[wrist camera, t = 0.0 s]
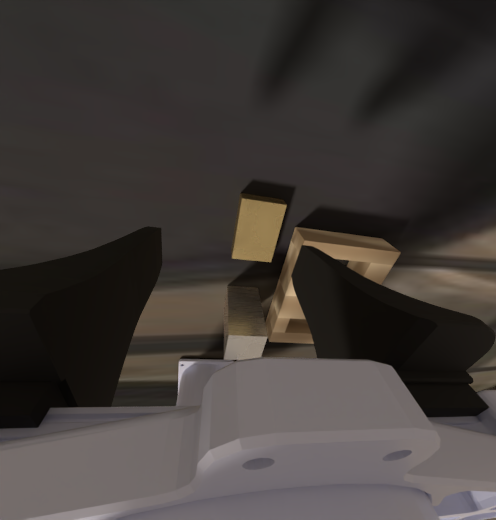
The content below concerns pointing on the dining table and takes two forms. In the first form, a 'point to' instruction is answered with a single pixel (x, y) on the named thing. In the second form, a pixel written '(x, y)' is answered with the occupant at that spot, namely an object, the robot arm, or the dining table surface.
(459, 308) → the dining table surface
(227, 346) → the square bit
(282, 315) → the socket block
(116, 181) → the dining table surface
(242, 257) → the tan rectangular block
